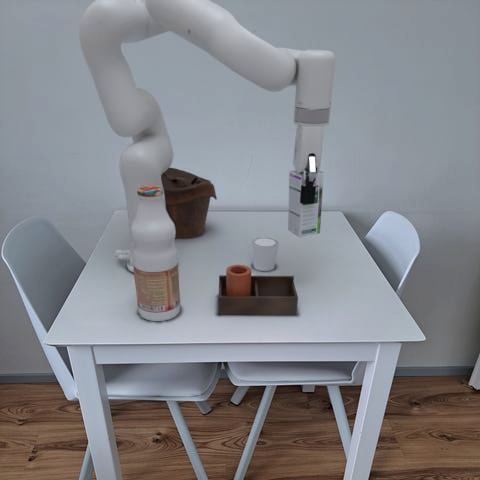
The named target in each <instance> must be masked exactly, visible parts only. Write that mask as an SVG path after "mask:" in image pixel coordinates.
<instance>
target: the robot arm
mask: <svg viewBox="0 0 480 480" xmlns="http://www.w3.org/2000/svg"><path fill="white" fill-rule="evenodd" d="M168 32H172V33H174V35H176V36H179V37H180V38H182V39H184V40H185V41H187V42H189V43H190V44H192V45H194V46H195V47H197V48H199V49H200V50H202V51H203V52H205V53H207V54H209V55H210V56H211V57H213V59H215V60H217V61H218V62H220V63H221V64H222V65H224V66H225V67H227V68H228V69H230V70H231V71H233V72H234V73H235V74H236V75H239V76H240V77H241V78H243V79H245V80H247V81H249V82H250V83H252V84H254V85H255V86H257V87H259V88H261V89H263V90H265V91H268V92H271V93H275V92H281V91H284V90H285V89H286V88H288V87H294V86H295V96H294V111H293V124H295V125H296V131H295V139H294V149H293V158H292V165H293V167H294V170H296V171H297V172H298V173H300V172H303V185H301V194H300V203H301V204H313V203H314V201H315V191H316V174H317V173H318V172H319V171H321V163H322V162H321V161H322V154H323V141H324V140H323V139H324V128H325V126H328V125H330V115H331V106H332V96H333V88H334V87H333V86H334V77H335V70H336V68H335V66H336V55H335V53H334V52H333V51H331V50H326V49H306V50H305V49H304V50H298V49H293V48H290V47H289V48H288V47H280V46H279V47H276V46H274V45H272V44H270V43H269V42H267V41H265V40H264V39H262V38H260V37H258V36H257V35H255V34H254V33H252V32H250V31H249V30H248V29H246V28H245V27H244V26H243V25H241V24H240V22H238V21H237V19H236V18H235V16H234V15H233V14H232V13H231V12H229V10H227V8H226V9H225V8H224V7H222V6H220V5H219V4H217V3H215V2H214V1H212V0H94V1H93V2H92V3H90V5H89V6H88V7H87V8H86V10H85V11H84V13H83V16H82V17H81V21H80V24H79V35H78V37H79V45H80V48H81V52H82V55H83V57H84V60H85V62H86V65H87V68H88V70H89V72H90V75H91V78H92V81H93V84H94V86H95V89H96V92H97V95H98V98H99V101H100V103H101V105H102V108H103V111H104V114H105V117H106V121H107V122H108V125H109V127H110V129H111V130H112V131H113V132H114V134H116V135H117V136H119V137H122V138H131V139H132V141H133V142H132V143H130V144H129V145H128V146H127V147H126V148H125V149H124V150H123V151H122V153H121V155H120V157H119V163H118V164H119V167H118V168H119V174H120V178H121V181H122V186H123V190H124V195H125V203H126V210H127V211H126V212H127V220H128V229H129V240H130V248H127V249H115V251H114V252H115V254H114V256H115V258H118V260H119V261H126V267H127V269H128V271H130V272H131V273H133V274H134V267H133V249H134V242H133V240H132V237H131V225H132V223H133V221H134V219H135V217H136V213H137V209H138V205H139V200H140V198H139V197H138V194H137V189H138V187H140V186H143V185H158V186H161V187H162V190H163V196H162V201H163V203H164V206H165V208H166V204H165V194H164V189H163V185H162V181H161V175H162V174H163V173H164V172H165V171H166V170H167V169H168V168H171V166H172V163H173V162H174V147H173V144H172V141H171V138H170V135H169V131H168V128H167V124H166V122H165V119H164V116H163V112H162V110H161V106H160V105H159V102H158V100H157V99H156V98H155V96H154V95H153V94H152V93H151V92H150V91H148V90H146V89H144V88H141V87H137V85H136V83H135V79H134V76H133V73H132V69H131V66H130V65H129V62H128V61H127V59H126V57H125V56H124V53H123V51H122V45H123V44H131V43H138V42H142V41H145V40H148V39H151V38H153V37H157V36H159V35H162V34H166V33H168ZM305 169H309V171H305ZM306 175H309V176H307V177H306Z"/></svg>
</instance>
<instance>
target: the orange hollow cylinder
mask: <svg viewBox="0 0 480 480" xmlns="http://www.w3.org/2000/svg"><path fill="white" fill-rule="evenodd" d="M225 275H226V296H250V292H251V276H252V269H251V268H250V267H249V266H247V265H244V264H232V265H230V266H227V268H226V270H225Z"/></svg>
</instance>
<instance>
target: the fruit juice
mask: <svg viewBox="0 0 480 480" xmlns="http://www.w3.org/2000/svg"><path fill="white" fill-rule="evenodd" d="M137 194H138V197H139V198H140V200H139V205H138V209H137V213H136V217H135V219H134V221H133V223H132V225H131V237H132V240H133V242H134V249H133V267H134V273H133V275H134V284H135V285H134V286H135V293H136V303H137V304H136V305H137V310H138V314H139V315H140V317H141V318H142V319H145V320H147V321H151V322H165V321H168V320H172V319H173V318H175V317H177V315H179V313H180V311H181V294H180V291H181V290H180V272H179V257H178V249H177V247H176V245H175V239H176V237H175V234H176V230H175V225H174V223H173V221H172V220H171V219H170V217H169V215H168V213H167V211H166V208H165V206H164V203H163V201H162V196H163V190H162V187H161V186H158V185H143V186H140V187H138V189H137Z"/></svg>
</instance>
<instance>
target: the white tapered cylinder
mask: <svg viewBox="0 0 480 480" xmlns="http://www.w3.org/2000/svg"><path fill="white" fill-rule="evenodd" d="M251 246H252V247H251V249H252V262H253V263H252V265H253V269H255V270H257V271H261V272H269V271H273V270H274V269H275V267H276V260H277V254H278V248H279V247H278V246H279V242H278V241H277V240H276V238H275V239H274V238H272V237H257V238H254V239H253V240H252V242H251Z"/></svg>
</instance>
